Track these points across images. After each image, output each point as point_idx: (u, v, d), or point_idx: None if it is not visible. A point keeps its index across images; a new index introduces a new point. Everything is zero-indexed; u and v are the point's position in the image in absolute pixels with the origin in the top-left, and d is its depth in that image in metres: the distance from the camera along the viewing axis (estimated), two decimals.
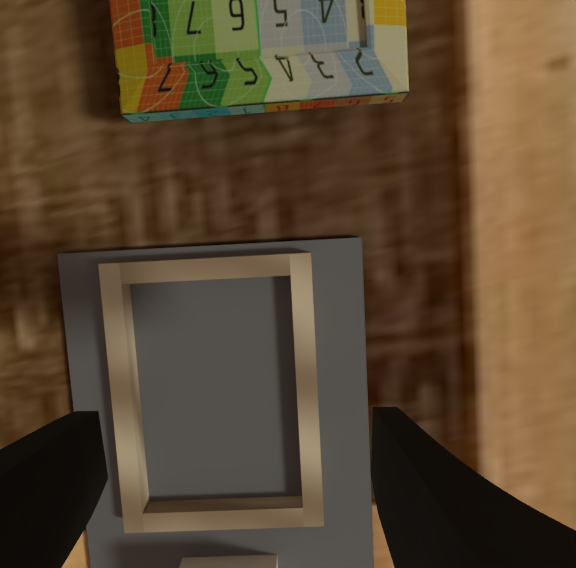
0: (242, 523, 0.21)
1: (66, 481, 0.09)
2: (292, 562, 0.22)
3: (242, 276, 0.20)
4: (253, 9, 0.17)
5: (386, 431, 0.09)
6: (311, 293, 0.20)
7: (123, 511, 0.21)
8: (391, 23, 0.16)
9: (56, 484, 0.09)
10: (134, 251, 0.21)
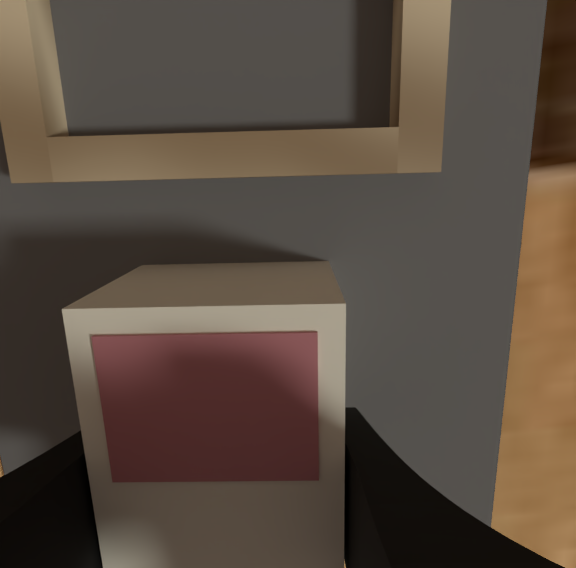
0: (264, 163, 0.10)
1: None
2: (357, 278, 0.11)
3: None
4: None
5: None
6: None
7: (5, 132, 0.10)
8: None
9: None
10: None
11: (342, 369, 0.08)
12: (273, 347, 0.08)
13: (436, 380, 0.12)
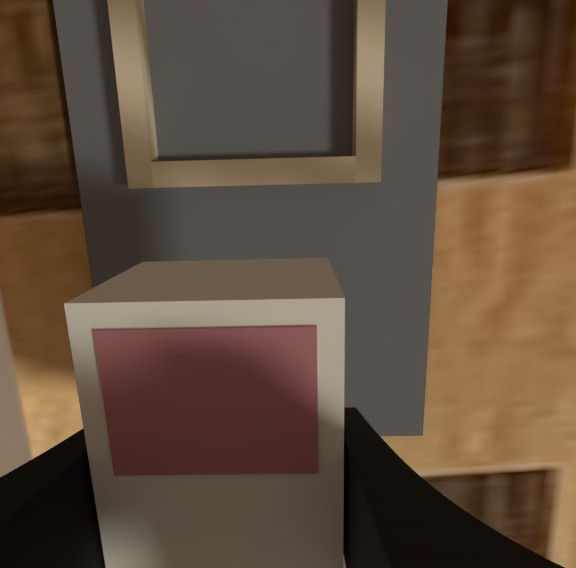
0: (277, 177, 0.17)
1: None
2: (334, 247, 0.18)
3: None
4: None
5: None
6: None
7: (126, 158, 0.16)
8: None
9: None
10: None
11: (341, 363, 0.08)
12: (273, 341, 0.08)
13: (385, 312, 0.19)
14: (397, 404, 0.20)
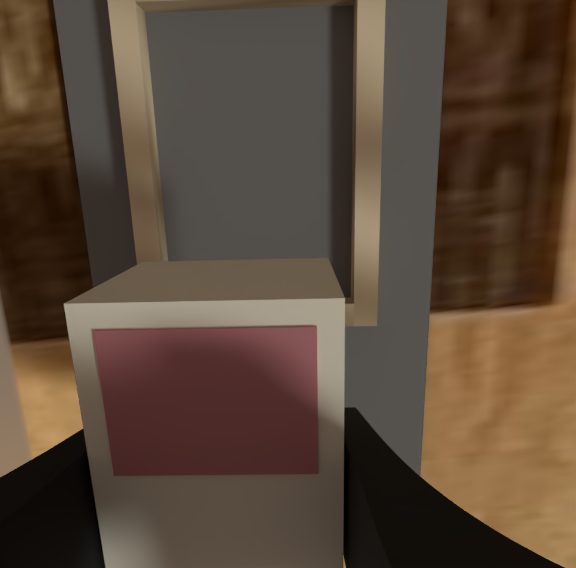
0: None
1: None
2: None
3: None
4: None
5: None
6: (383, 21, 0.15)
7: None
8: None
9: None
10: None
11: (341, 363, 0.08)
12: (273, 341, 0.08)
13: (381, 431, 0.20)
14: None
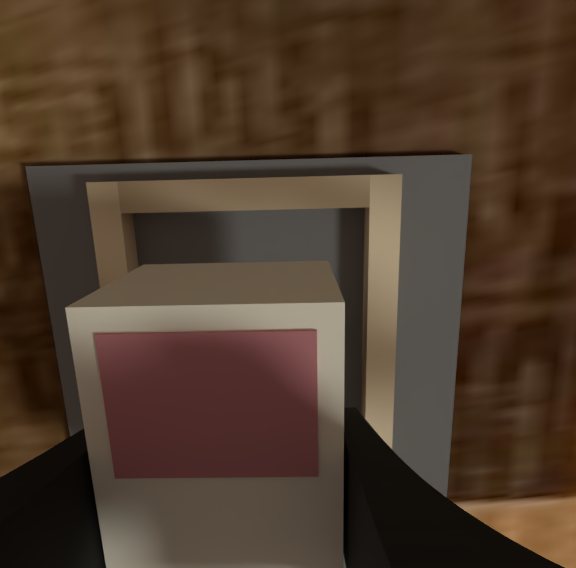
0: None
1: None
2: None
3: (298, 207, 0.13)
4: None
5: None
6: (397, 234, 0.14)
7: None
8: None
9: None
10: (138, 166, 0.14)
11: (341, 367, 0.08)
12: (273, 345, 0.08)
13: None
14: None
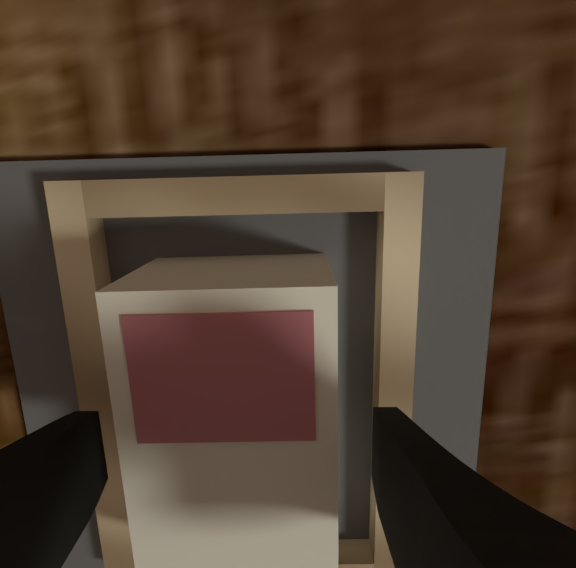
0: None
1: (66, 481, 0.09)
2: None
3: (299, 210, 0.11)
4: None
5: (386, 431, 0.09)
6: (417, 244, 0.11)
7: (105, 561, 0.14)
8: None
9: (56, 484, 0.09)
10: (108, 162, 0.12)
11: (335, 343, 0.09)
12: (275, 323, 0.09)
13: None
14: None
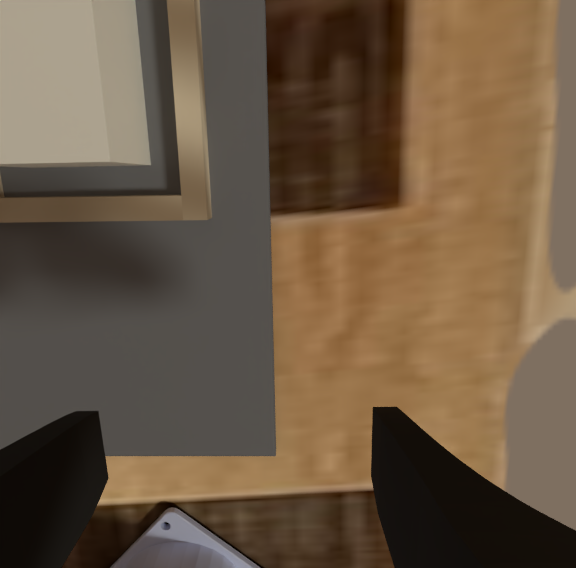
0: (109, 214, 0.17)
1: (66, 481, 0.09)
2: (177, 278, 0.19)
3: None
4: None
5: (386, 431, 0.09)
6: None
7: None
8: None
9: (56, 484, 0.09)
10: None
11: None
12: None
13: (230, 340, 0.20)
14: (249, 426, 0.21)
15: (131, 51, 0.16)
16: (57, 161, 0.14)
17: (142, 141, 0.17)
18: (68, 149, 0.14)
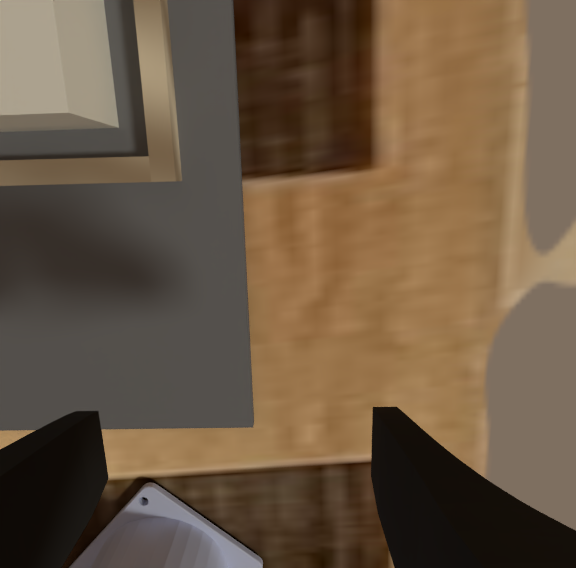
0: (76, 176, 0.17)
1: (66, 481, 0.09)
2: (149, 244, 0.19)
3: None
4: None
5: (386, 431, 0.09)
6: None
7: None
8: None
9: (56, 483, 0.09)
10: None
11: None
12: None
13: (204, 308, 0.19)
14: (225, 397, 0.20)
15: (94, 7, 0.16)
16: (15, 113, 0.14)
17: (108, 101, 0.17)
18: (26, 100, 0.14)
